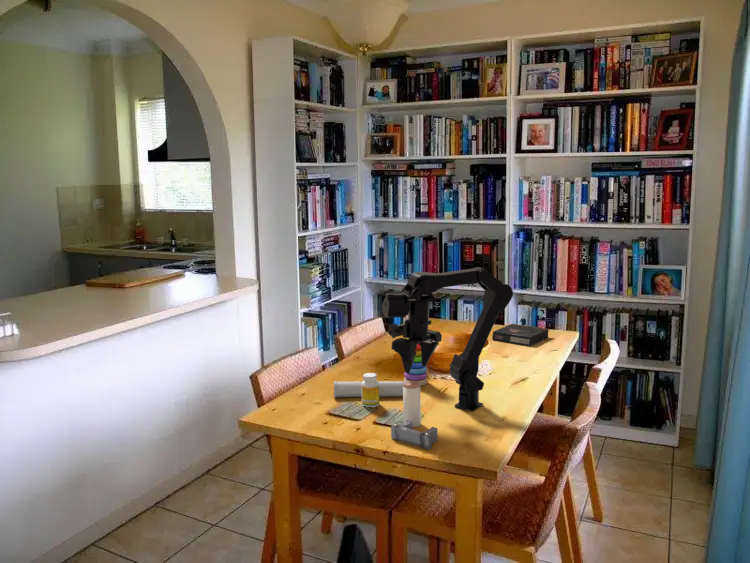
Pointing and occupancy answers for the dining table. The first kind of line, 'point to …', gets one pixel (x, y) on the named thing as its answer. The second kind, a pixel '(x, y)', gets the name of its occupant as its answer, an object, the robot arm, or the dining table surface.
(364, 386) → the supplement bottle
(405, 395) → the mushroom
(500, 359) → the dining table surface
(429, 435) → the bracket
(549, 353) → the dining table surface
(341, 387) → the tube
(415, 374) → the stacking toy
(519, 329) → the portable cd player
